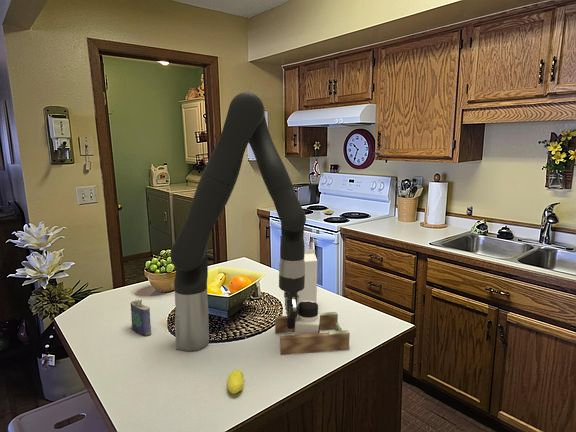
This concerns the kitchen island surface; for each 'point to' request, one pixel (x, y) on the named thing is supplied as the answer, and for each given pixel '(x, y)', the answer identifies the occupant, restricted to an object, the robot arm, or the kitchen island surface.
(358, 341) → the kitchen island surface
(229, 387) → the lemon
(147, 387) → the kitchen island surface
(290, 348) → the bay
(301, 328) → the medicine bottle
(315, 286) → the milk
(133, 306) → the flask
